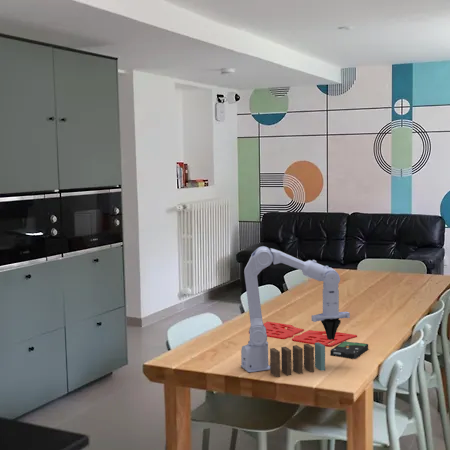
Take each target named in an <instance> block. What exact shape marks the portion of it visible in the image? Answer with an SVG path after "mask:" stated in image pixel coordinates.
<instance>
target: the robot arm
mask: <svg viewBox="0 0 450 450" xmlns="http://www.w3.org/2000/svg"><path fill="white" fill-rule="evenodd" d="M250 255H251V256H250V257H249V260H248V262H247V264H246V266H245V267H244V271H243V273H244V282H245V288H246V289H245V290H246V297H247V299H246V300H247V306H248V315H249V320H250V321H249V322H250V327H249V330H248V334H249V333H250V334H249V340H248V341H247V342H248V343H247V344H246V345H242V346H241V349H240V353H241V355H240V356H241V359H240V360H241V361H240V362H241V364H240V367H241V368H242V369H243V370H245V371H246V372H248V373H255V372H263V371H270V364H269V342H268V341H267V340H268V337H267V334H266V328H265V326H264V325H263V324H264V321H263V314H262V313H263V312H262V306H261V298H260V290H259V281H258V275H259V274H260V273H261V272H262V271H263V270H265V269H266V268H267V267H269V266H271V265H272V264H273V265H278V264H283V265H287V266H289V267H292V268H294V269H297V270H300V271H301V272H302V274H303V275H304V276H306V277H307V278H311V279H313V280H315V281H318V282H323V283H322V313H318V314H311V322H313V323H315V322H316V323H317V322H320V323H321V324H322V325H323V328H324V331H326V334H325V335H327V339H329V340H334V338H335V334H336V332H338V328H339V326H340V325H341V321H342V320H340V319H350V316H351V314H350V312H348V311H339V310H340V309H339V308H340V307H339V306H340V303H339V302H340V301H339V300H340V299H339V298H340V295H339V294H340V291H339V290H340V289H339V284H340V282H341V277H340V275H339V273H338V272H337V270H335V268H332V267H329V265H323V264H320V263H318V262H317V260H315V259H312V260H311V259H308V260H306V261H303V260H301V259H299V258H297V257H294V256H293V255H290V254H288V253H285V252H283V251H281V250H278V249H275V248H271V247H270V248H269V247H267V246H264V245H262V246H259V247H257V248H256V249H255V250H254V251H253V252H252V253H251V254H250Z"/></svg>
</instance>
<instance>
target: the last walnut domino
mask: <svg viewBox="0 0 450 450" xmlns="http://www.w3.org/2000/svg"><path fill="white" fill-rule="evenodd" d="M269 351H270V352H269V358H270V359H269V363H270V364H269V366H270V370H269V371H270V375H272V376H273V377H275V378H279V377H281V350H278V349H277V348H275V347H272V348H271V347H270V348H269Z"/></svg>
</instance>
